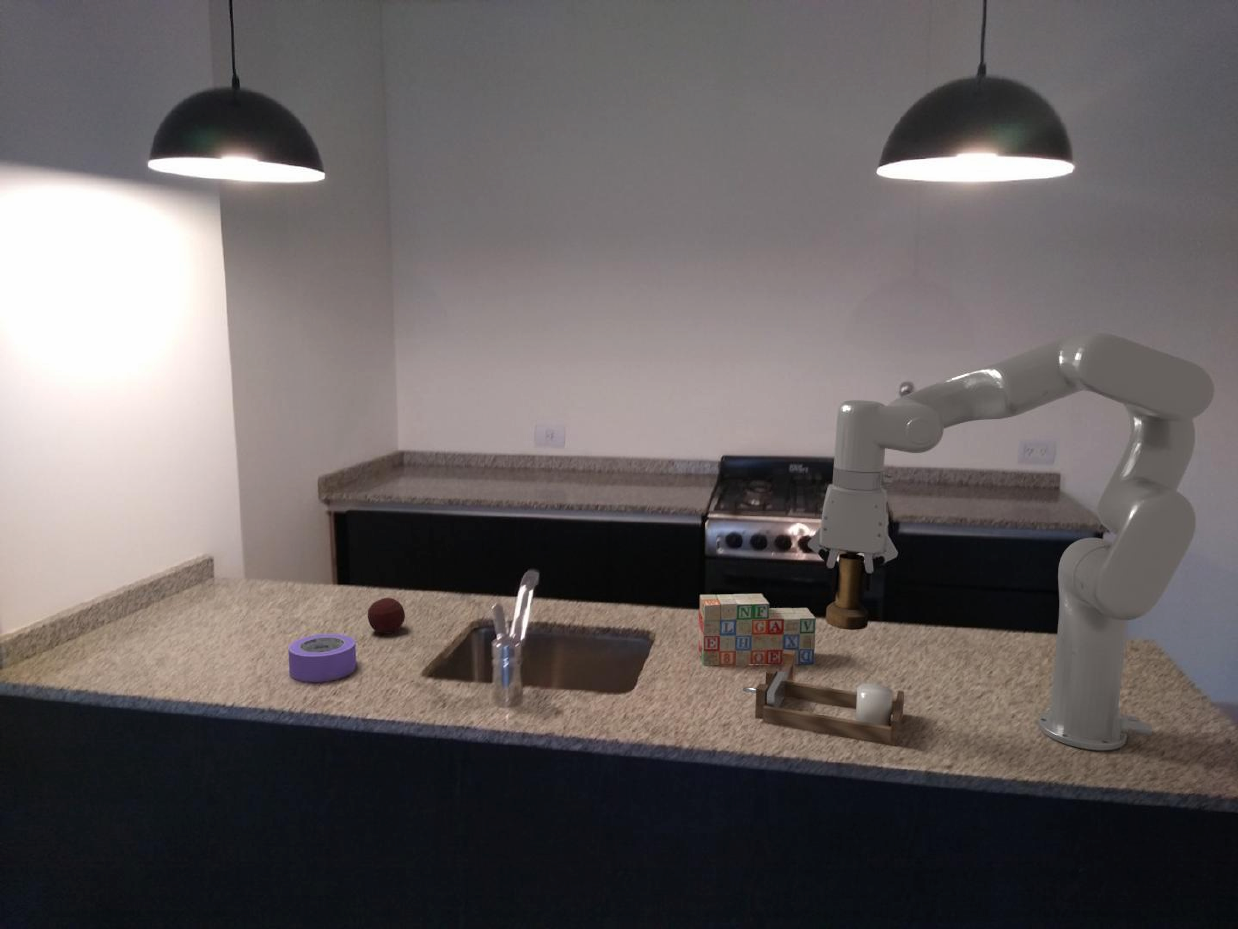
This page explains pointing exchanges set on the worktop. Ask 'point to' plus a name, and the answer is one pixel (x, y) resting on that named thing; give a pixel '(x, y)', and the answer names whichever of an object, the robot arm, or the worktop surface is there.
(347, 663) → the tape roll
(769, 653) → the stack of blocks
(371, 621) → the dark red ball
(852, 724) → the lane
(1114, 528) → the robot arm
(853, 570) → the mortar and pestle
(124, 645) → the worktop surface
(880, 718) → the white marshmallow
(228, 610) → the worktop surface
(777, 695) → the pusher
